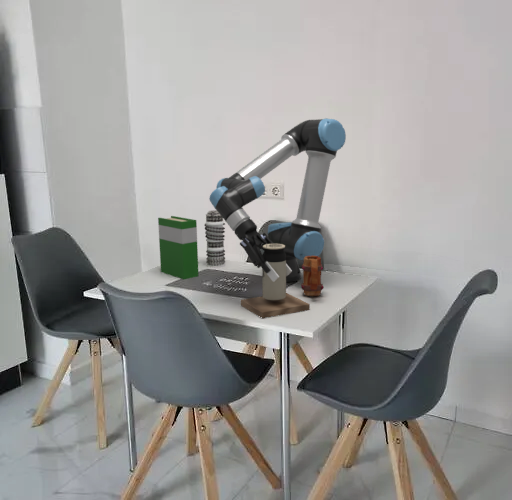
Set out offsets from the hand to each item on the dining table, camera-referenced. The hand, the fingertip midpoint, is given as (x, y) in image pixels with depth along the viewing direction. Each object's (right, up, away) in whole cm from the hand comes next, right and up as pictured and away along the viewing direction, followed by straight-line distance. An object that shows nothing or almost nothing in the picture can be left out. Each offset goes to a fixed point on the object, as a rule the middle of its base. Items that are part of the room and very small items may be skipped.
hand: (282, 276), depth 181 cm
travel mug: (-3, -8, +4) cm, 9 cm away
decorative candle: (-27, +2, +67) cm, 72 cm away
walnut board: (-3, -11, +4) cm, 12 cm away
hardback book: (-42, -2, +52) cm, 67 cm away
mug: (+12, -8, +16) cm, 21 cm away
